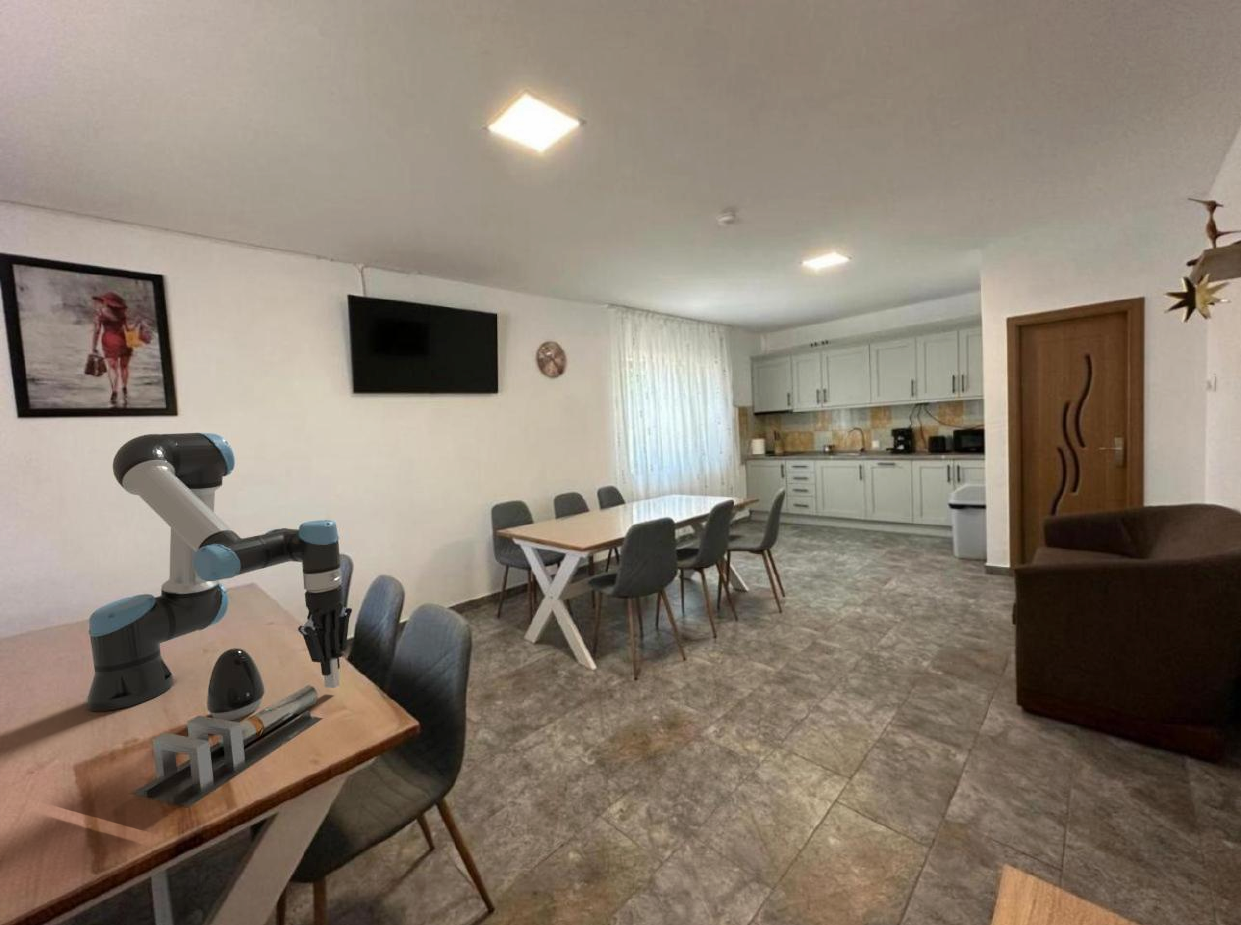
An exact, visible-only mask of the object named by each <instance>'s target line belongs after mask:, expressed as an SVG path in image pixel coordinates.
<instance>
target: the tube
mask: <svg viewBox="0 0 1241 925" xmlns="http://www.w3.org/2000/svg"><path fill="white" fill-rule="evenodd" d="M318 699H319V694H318V691H317V689H316V688H315V687H314V686H313V685H310V684H309V685H308V684H307V685H305V686H304V687H301V688H300V689H298V690H296V691H295V692H293V693H291V694H289V695H287V696H285V697H284V698H281V699H280V700H278V701H277V702H275V703H273V704H271V705H270V706H268V707H266V708H265V709H262V710H261V711H259V712H257V713H256V714H253V715H252V716H250V717H248V718H246V719H245V720H243V721H241V722H240V723H241V727H242V737H243V747H245V746H246V745H248V744H249V743H251V742H253V741H254V740H256V739H258V738H259V737H261V736H262V735H264V734H266V733H267V732H269V731H271V730H272V729H274V728H276V727H277V726H279V725H280V724H282V723H284V722H285V721H287V720H289V719H290V718H292V717H293V716H295V715H297V714H300V713H301V712H304V711H305V710H306V709H308V708H310V707H311V706H313V705H315V704H316V703H317V701H318ZM218 739H219V740H218V743H220V746H221V748H222V750H223V751H224V743H223V736H221V735H219V738H218Z"/></svg>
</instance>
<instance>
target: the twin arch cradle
mask: <svg viewBox="0 0 1241 925" xmlns="http://www.w3.org/2000/svg"><path fill="white" fill-rule="evenodd" d="M323 719H324V717H323V718H322V717H317V716H312V714H311V711H310V710H306V711H303V713H301V714H300V713H298V714H297V715H295V716H293V717H292V718H290V719H289V720H287V721H285V722H284V723H282V724H280V725H279V726H277V727H276V728H274V729H272V730H271V731H269V732H267V733H266V734H264V735H262V736H261V737H259V738H258V739H256V740H254V741H253V742H251V743H249V744H248V745H246V746H245V747H243V737H242V727H241V722H238V721H234V720H231V721H227V720H221V719H215V718H213V717H207V716H203V715H198V716H194V718H191V719H190V720H187V721H186V725H187V732H188V733H187V734H188V735H187V736H184V735H180V734H174V733H168V732H164V733H162V734H160V735H158V736H156V737H155V738H152V739H151V740H152V748H153V750H152V751H153V758H154V766H155V776H156V778H155V779H153V780H151V781H150V782H148V783H146V784H145V785H143V786H142V787H139V788H137V789H136V790H134V791H133V792H131V793H130V794H132V795H136V796H139V797H144V798H148V799H153V800H156V801H160V802H164V803H168V804H171V805H176V806H180V807H184V808H191V806H193V805H194V804H196V803H197V802H200V800H202V799H203V798H205V797H207V796H208V795H209V794H211V793H213V792H214V791H216V790H217V789H219V788H221V787H222V786H223V785H225V784H226V783H228V782H230V781H231V780H232V779H234V778H235V777H237V776H238V775H240V774H241V773H243V772H244V771H246V770H248V769H249V768H251V767H252V766H254V765H255V764H256V763H258V762H260V761H261V760H262V759H264V758H265V757H267V756H269V755H270V754H272V753H274V752H275V751H276V750H278V749H279V748H281V747H282V746H283V745H285V744H287V743H289V742H290V741H291V740H293V739H294V738H295V737H297V736H299V735H300V734H302V733H303V732H305V731H306V730H308V729H310V728H311V727H312V726H314V725H316V724H318V722H320V721H322V720H323ZM209 734H210V735H211V734H212V735H217V736H220V735H221V736H223V743H224V751H223V750H222V748H221V746H220V743H219V742H217V743H215V744H213V745H212V746H210V745H211V744H210V741H209V740H210V738H209ZM176 753H179V754H182V755H183V754H184V755H188V756H189V759H188V760H186V761H184V762H182V763H180V764H179V765H177V758H176Z"/></svg>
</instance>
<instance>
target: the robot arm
mask: <svg viewBox="0 0 1241 925" xmlns="http://www.w3.org/2000/svg"><path fill="white" fill-rule="evenodd" d="M235 460H236V459H235V455H234V451H233V449H232V447H231V445H229V442H228V441H227V439H225V438H224V437H223V436H221V435H219V434H217V433H208V432H206V433H205V432H185V433H181V432H180V433H161V434H160V433H149V434H143V435H140V436H139V435H138V436H136V437H134V438H131V439H129V440H128V441H127V442H125V443H124V444H122V446H120V447H119V449H118V450H117V451H116V453H115V455H114V457H113V462H112V471H113V475H114V477H115V480H116V481H117V483H118V484H119V486H121V487H122V489H124V491H126V492H127V493H128V494H131V495H134V496H138V497H139V498H141V499H142V501H144V503H146V505H148V506H149V507H150V508H151V509H152V510H153V511H154V512H155V514H156V515H158V517H160V518H161V519H162V521H164V522H165V523H166V525H168V526H169V527H170V543H169V544H170V546H169V553H170V554H169V578H168V579H167V580H166V581H165V582H163V583H162V585H161V588H160V589H161V590H160V591H161V593H160V596H156V597H155V596H154V595H153V594H148V593H145V594H144V593H143V594H137V595H134V596H129V597H124V598H120V599H118V600H115V601H112V602H109V603H107V604H105V605H103V606H101V607H99V608H97V609H96V610H94V611H93V612H92V614H90V617H89V619H88V620H89V621H88V622H89V630H88V635H89V637H90V645H91V646H90V647H91V652H92V660H93V667H94V668H93V670H94V676H93V679H92V682H91V684H90V689H89V691H88V696H87V699H86V704H87V709H88V710H89V711H91V712H110V711H115V710H120V709H125V708H128V707H132V706H135V705H139V704H141V703H144V702H146V701H148V700H152V699H153V698H155V697H158V696H160V695H162V694H164V693H166V692H167V691H168V690H170V689H171V688H172V687H173V685H174V677H173V676H174V675H173V673H172V672H171V670H170V667H168V664H166V662H165V661H164V659H163V657H162V655H161V644H162V643H164V642H168V641H170V640H171V641H172V640H174V639H177V638H180V637H182V636H185V635H188V634H191V633H194V632H197V631H201V630H205V629H207V628H209V627H210V626H213V625H215V624H218V623H219V622H220V621H221V620H222V619H223V618H224V617H225V615H226V614H227V612H228V609H229V603H230V602H229V595H228V593H227V589H226V587H225V585H223V584H222V583H220V582H219V581H221V580H226V579H231V578H234V577H237V576H240V575H244V574H247V573H250V572H255V571H258V570H261V569H266V568H269V567H272V566H273V567H274V566H277V565H281V564H285V563H289V562H293V563H294V562H296V563H301V566H302V578H303V589H304V590H305V593H304V599H305V600H304V601H305V607H306V608H307V611H308V614H307V617H306V619H307V620H306V621H305V623H304V625H299V627H298V628H297V631H298V632H299V633H300V634H301V635H302V637H303V639H304V641H305V646H306V649H307V651H308V653H309V657H310V659H311V662H312V663H319V664H320V669H321V671H320V672H321V675H322V676H323V677H324V687H325V688H329V689H331V688H332V689H335V688H336V687H338V686H340V677H339V675H340V674H339V670H340V667H341V665H340V658H343V655H344V654H343V653H342V652H345V651H346V650H347V642H348V633H349V623H350V618H351V615H352V612H353V608H351V607H344V604H343V603H342V602H343V600H344V593H343V586H342V585H341V583H342V570H341V569H342V568H341V558H340V546H339V540H340V537H339V534H338V528H337V524H336V522H335V521H334V520H331V519H324V520H322V519H321V520H312V521H307V522H304V523H303V522H302V523H301V524H300V525H299V527H298V528H296V529H295V528H286V527H285V528H284V527H282V528H274V529H271V530H268V531H267V532H265V533H263V534H258V535H254V536H247V537H243V538H242V537H241V536H239V535H238V534H237V533H236V532H235V531H234V530H232V529H231V528H230V527H229V525H227V523H225V521H223V519H221V518H220V517H219V516H218V515H217V514H216V512H215V500H216V499H215V496H216V495H215V494H216V491H218V489H220V488H221V487H222V486H223V478H224V477H227V476H229V475H230V474H231V473H232V472H233V471H234V468H235Z"/></svg>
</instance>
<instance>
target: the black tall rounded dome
mask: <svg viewBox="0 0 1241 925" xmlns="http://www.w3.org/2000/svg"><path fill="white" fill-rule="evenodd" d="M265 690H266V689H265V685H264V682H263V678H262V675H261V673H260V671H259V669H258V666H257V664H256V663H255V660H254V659H253V657H252V656H251V655H250V654H249V652H247V651H246V650H245V649H243V648H230V649H227V650H225V651H224V652H223V653H221V654H220V656H219V657H218V658H217V660H216V662H215V663H214V666H213V668H212V671H211V675H210V678H209V683H208V688H207V697H206V710H207V711H208V712H209V713H210V715H211V716H212V718H215V719H221V720H227V721H235V720H238V719H241V718H244V717H247V716H248V715H250V714H252V713H253V712H255V711H256V710H258V709H259V707H260V705H261V704H262V701H263V698H264V695H265V692H266V691H265Z"/></svg>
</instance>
